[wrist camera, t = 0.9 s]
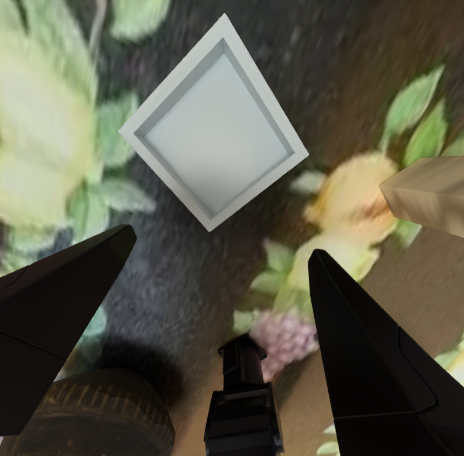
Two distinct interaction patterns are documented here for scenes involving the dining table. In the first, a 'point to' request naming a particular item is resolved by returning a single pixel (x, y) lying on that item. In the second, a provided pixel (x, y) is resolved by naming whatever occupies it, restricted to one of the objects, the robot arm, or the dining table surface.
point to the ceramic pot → (96, 419)
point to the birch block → (429, 193)
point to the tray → (215, 129)
